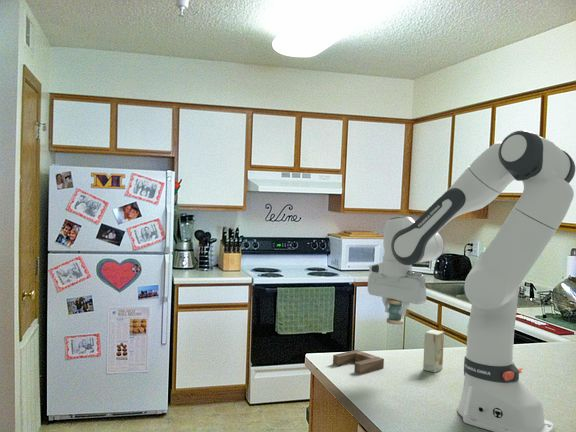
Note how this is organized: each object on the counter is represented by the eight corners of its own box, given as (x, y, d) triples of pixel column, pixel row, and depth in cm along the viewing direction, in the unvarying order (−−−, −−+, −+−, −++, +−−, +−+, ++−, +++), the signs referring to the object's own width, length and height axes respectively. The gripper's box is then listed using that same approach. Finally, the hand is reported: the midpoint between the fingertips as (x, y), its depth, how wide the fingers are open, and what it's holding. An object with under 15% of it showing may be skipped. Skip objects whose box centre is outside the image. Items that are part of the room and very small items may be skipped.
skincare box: (435, 373, 167) (437, 334, 166) (422, 370, 169) (424, 332, 169) (443, 368, 172) (444, 331, 171) (430, 365, 174) (431, 328, 174)
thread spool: (406, 323, 162) (407, 300, 162) (396, 325, 159) (397, 302, 159) (393, 319, 166) (394, 297, 166) (383, 321, 163) (384, 299, 162)
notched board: (383, 367, 170) (383, 358, 170) (360, 374, 163) (360, 364, 163) (356, 358, 179) (356, 349, 179) (332, 364, 172) (333, 355, 172)
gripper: (431, 272, 156) (429, 319, 156) (378, 264, 172) (376, 307, 172) (418, 274, 152) (416, 321, 152) (365, 265, 168) (363, 309, 168)
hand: (395, 313), depth 162 cm, fingers closed on thread spool, 4 cm apart
